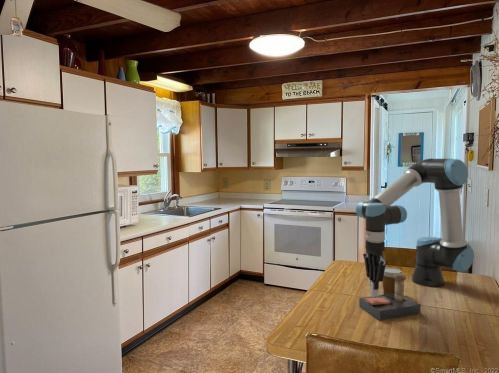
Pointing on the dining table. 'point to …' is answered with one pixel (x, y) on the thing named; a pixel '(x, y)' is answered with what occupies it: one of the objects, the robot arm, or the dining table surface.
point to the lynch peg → (399, 287)
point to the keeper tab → (378, 300)
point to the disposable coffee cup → (389, 280)
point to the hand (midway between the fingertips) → (374, 295)
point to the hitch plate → (390, 307)
